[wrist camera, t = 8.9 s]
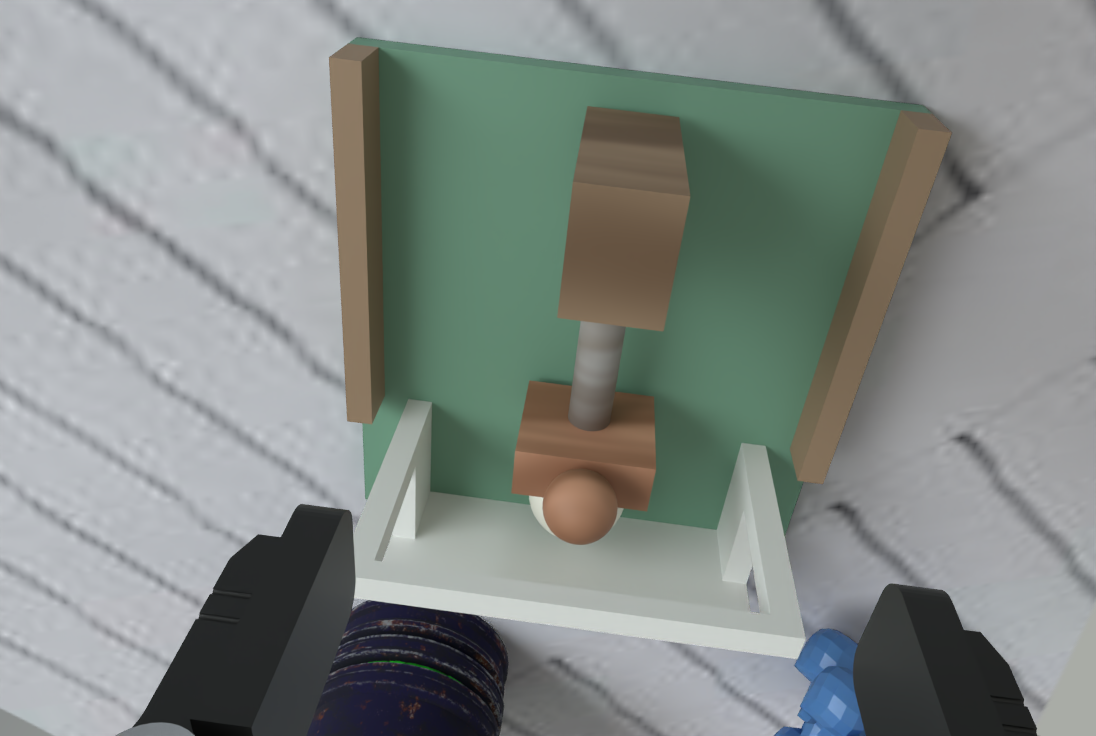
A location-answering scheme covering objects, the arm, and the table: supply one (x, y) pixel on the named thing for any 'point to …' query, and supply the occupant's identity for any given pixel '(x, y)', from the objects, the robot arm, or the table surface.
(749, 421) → the pitch
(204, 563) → the table surface
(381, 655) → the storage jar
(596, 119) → the kicker
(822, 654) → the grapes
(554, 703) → the table surface
